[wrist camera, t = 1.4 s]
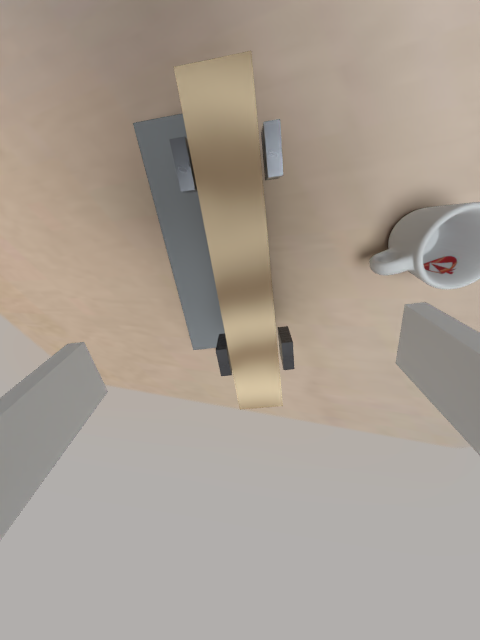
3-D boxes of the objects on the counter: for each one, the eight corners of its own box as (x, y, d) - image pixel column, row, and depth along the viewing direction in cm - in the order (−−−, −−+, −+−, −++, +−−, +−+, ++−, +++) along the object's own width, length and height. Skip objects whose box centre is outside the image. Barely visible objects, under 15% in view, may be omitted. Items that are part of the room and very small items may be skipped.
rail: (192, 100, 17) (173, 66, 13) (250, 89, 17) (251, 50, 12) (240, 375, 28) (239, 409, 23) (276, 371, 27) (282, 405, 23)
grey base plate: (134, 124, 26) (132, 123, 26) (186, 114, 25) (185, 113, 25) (193, 348, 38) (193, 350, 38) (229, 344, 38) (229, 346, 37)
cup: (361, 286, 33) (393, 311, 26) (349, 228, 30) (381, 238, 23) (449, 255, 31) (510, 272, 24) (445, 188, 28) (514, 185, 21)
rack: (199, 147, 27) (162, 109, 15) (264, 136, 26) (278, 87, 14) (231, 326, 36) (224, 388, 25) (279, 321, 36) (294, 381, 24)
